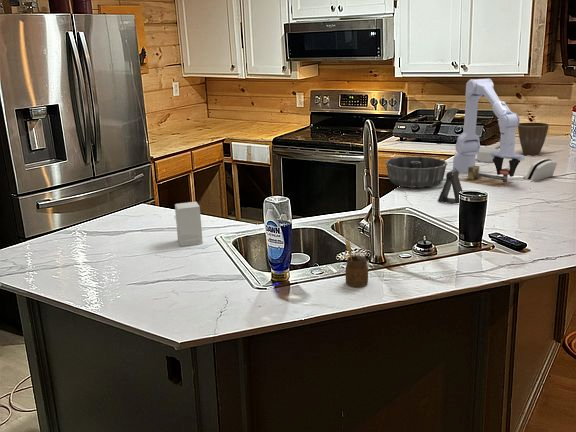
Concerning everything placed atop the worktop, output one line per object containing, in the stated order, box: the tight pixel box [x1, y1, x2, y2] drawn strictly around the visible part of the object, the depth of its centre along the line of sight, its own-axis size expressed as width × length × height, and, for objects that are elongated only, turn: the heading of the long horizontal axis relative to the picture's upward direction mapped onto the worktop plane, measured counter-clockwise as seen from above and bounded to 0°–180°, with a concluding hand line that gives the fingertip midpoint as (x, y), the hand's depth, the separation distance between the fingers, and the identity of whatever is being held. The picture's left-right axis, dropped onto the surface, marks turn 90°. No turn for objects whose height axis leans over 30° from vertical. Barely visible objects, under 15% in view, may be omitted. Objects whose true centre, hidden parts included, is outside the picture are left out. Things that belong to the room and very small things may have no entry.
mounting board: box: [459, 176, 515, 188], centre depth 265 cm, size 20×12×1 cm, turn 42°
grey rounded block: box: [522, 158, 558, 182], centre depth 269 cm, size 17×5×10 cm, turn 128°
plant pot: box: [517, 122, 550, 156], centre depth 319 cm, size 15×15×16 cm
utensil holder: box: [344, 237, 369, 288], centre depth 161 cm, size 6×6×12 cm
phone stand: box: [437, 169, 463, 204], centre depth 237 cm, size 9×6×12 cm, turn 57°
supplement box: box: [174, 201, 204, 247], centre depth 199 cm, size 7×7×13 cm
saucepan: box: [476, 145, 500, 164], centre depth 312 cm, size 12×20×6 cm, turn 138°
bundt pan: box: [385, 155, 448, 189], centre depth 267 cm, size 26×26×10 cm
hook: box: [477, 168, 510, 182], centre depth 261 cm, size 15×5×5 cm, turn 42°
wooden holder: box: [465, 165, 481, 181], centre depth 268 cm, size 4×6×6 cm, turn 132°
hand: (505, 175), depth 257 cm, fingers closed on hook, 5 cm apart
